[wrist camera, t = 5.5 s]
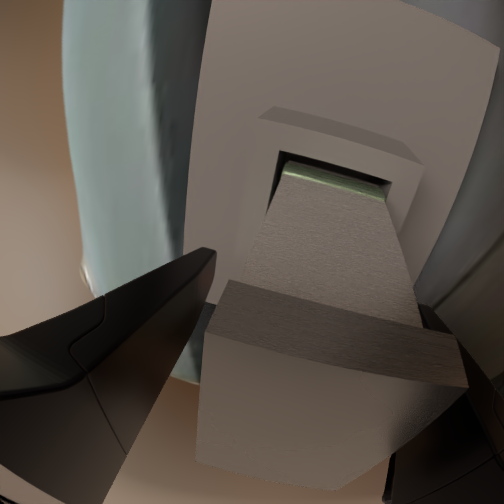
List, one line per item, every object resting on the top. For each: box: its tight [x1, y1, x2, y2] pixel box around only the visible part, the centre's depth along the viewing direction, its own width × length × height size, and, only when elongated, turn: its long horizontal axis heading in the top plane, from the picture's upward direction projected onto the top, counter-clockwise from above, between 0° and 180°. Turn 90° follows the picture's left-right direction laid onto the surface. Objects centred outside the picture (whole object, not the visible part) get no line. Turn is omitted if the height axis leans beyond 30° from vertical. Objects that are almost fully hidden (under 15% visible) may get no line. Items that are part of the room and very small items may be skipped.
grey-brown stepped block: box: [195, 160, 469, 491], centre depth 9 cm, size 4×5×9 cm
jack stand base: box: [183, 0, 500, 305], centre depth 14 cm, size 14×20×6 cm
